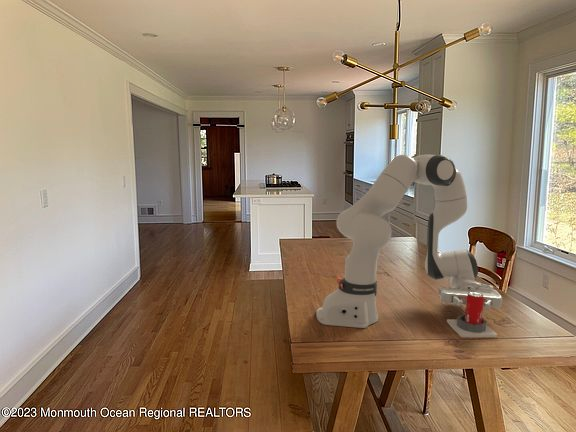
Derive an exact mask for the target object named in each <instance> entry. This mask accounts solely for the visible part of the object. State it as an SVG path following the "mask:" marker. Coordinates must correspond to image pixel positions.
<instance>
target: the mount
mask: <svg viewBox="0 0 576 432" xmlns="http://www.w3.org/2000/svg"><path fill="white" fill-rule="evenodd" d="M446 322H447V324H448V325H449V326H450V328H452V329H453V330H454V331H455V332H456V334H458V336H459V337H461V338H498V333H496V331H494V330H493V329H492V328H491V327H489V325H488V324H487V322H488V321H487V320H486V319H485V318H484V317H482V323H481V324H470V323H467V322H465V314H460V315H457V319H454V318H453V319H452V318H451V319H448V318H447V319H446Z"/></svg>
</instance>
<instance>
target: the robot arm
mask: <svg viewBox="0 0 576 432" xmlns="http://www.w3.org/2000/svg"><path fill="white" fill-rule="evenodd" d="M412 184H419V185H424V186H431V187H432V188H433V190H434V200H435V207H434V208H433V209H434V210H433V211H432V212H431V213H430V214H429V216H428V219H427V231H426V232H427V233H426V238H427V239H426V256H425V262H424V268H425V269H424V270H425V272H426V275H427V276H428V277H430V278H431V279H434V280H435V281H436V280H441V279H446V278H450V286H451V287H446V286H444V287H441V288H438V290H437V293H438V294H439V295H440V296H439V297H440V298H439V299H440V300H439V301H440V302H442V303H445V304H446V303H449V304H455V305H456V306H458V307H463V305H466V303H467V295H468V293H469V292H478V293H481V294H483V297H484V303H483V309H487V310H491V309H490V308H498V309H499V308H501V307H502V306H503V297H502V295H501V294H500V293H499V292H498V290H496V289H494V286H493V285H490V284H486V283H481V282H478V281H475V279H477V277H478V275H479V266H478V262H477V259H476V257H475V255H474V254H473V253H472V252H471V251H469V250H468V249H460V250H453V251H446V252H439V251H438V249H439V235H440V232H441V231H442V230H443V229H444V228H446V227H448V226H449V225H451V224H453V223H455V222H457V221H459V220H460V219H462V217H463V216H464V215H465V214H466V212H467V211H468V196H467V190H466V185H465V181H464V178H463V176H462V173H461V172H460V170H458V169H457V168H456V166H455V164H454V161H453V160H452V159H451V158H450V157H449V156H446V155H443V154H429V153H427V154H426V153H425V154H420V155H419V154H418V155H413V156H410V155H407V154H399V155H396V156H395V157H394V158H393V159H392V160H391V161H390V162H389V163H388V164H387V165H386V166H385V167H384V169H383V170H382V171H381V173H380V174H379V176H378V177H377V178H376V180H375V181H374V182H373V184H372V186H371V187H370V188H369V190H368V191H367V192H366V193H365V194H363V196H362V197H361V198H359V199H358V200H357V201H356V202H355V203H354V204H353V205H352V206H350V207H348V208H347V209H345V210H343V211H341V212H340V213H339V214H338V216H337V218H336V220H335V222H336V228H337V230H338V231H339V233H341V234H342V235H343V236H344V237H345V238H348V239H350V240H352V241H353V244H352V248H351V250H350V253H349V254H348V255H347V256H346V257H345V260H344V261H345V263H344V264H345V266H344V278H342V277H339V276H338V277H337V278H336V283H337V284H338V288H337V289H336V290H334V291H332V292H331V293H329V294H328V295H326V296H325V298H324V300H323V303H322V306H321V307H319V308H317V309H316V313H315V316H316V319H317V321H318V322H319V323H321V325H325V326H334V327H335V326H336V327H337V326H338V327H349V328H356V329H357V328H358V329H359V328H360V329H366V328H368V327H369V326H370V325H373V324H375V323H377V322H378V321H379V314H378V310H377V309H378V308H377V302H376V301H377V299H376V297H377V293H378V281H377V269H378V268H377V266H378V260H379V259H378V258H379V256H380V253H381V250H382V249H383V247H384V246H386V245H387V244H388V243H389V241H390V240H391V237H392V234H393V232H392V231H393V230H392V226H391V224H390V223H389V222H388V221H387V220H386V219H385V218H383V216H384V215H386V214H387V213H390V212H393V211H394V210H395V209H396V207H397V206H398V205H399V203H400V202H401V200H402V199H403V197H404V196H405V195H406V193H407V192H408V190H409V189H410V187H411V185H412Z"/></svg>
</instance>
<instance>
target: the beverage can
mask: <svg viewBox="0 0 576 432" xmlns="http://www.w3.org/2000/svg"><path fill="white" fill-rule="evenodd" d="M483 303H484V297H483V294H481V293H478V292H469V293H468V295H467V303H466V304H465V306H466V307H465V314H464V315H465V322H467V323H470V324H481V323H482V318H483V310H484V306H483Z"/></svg>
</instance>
